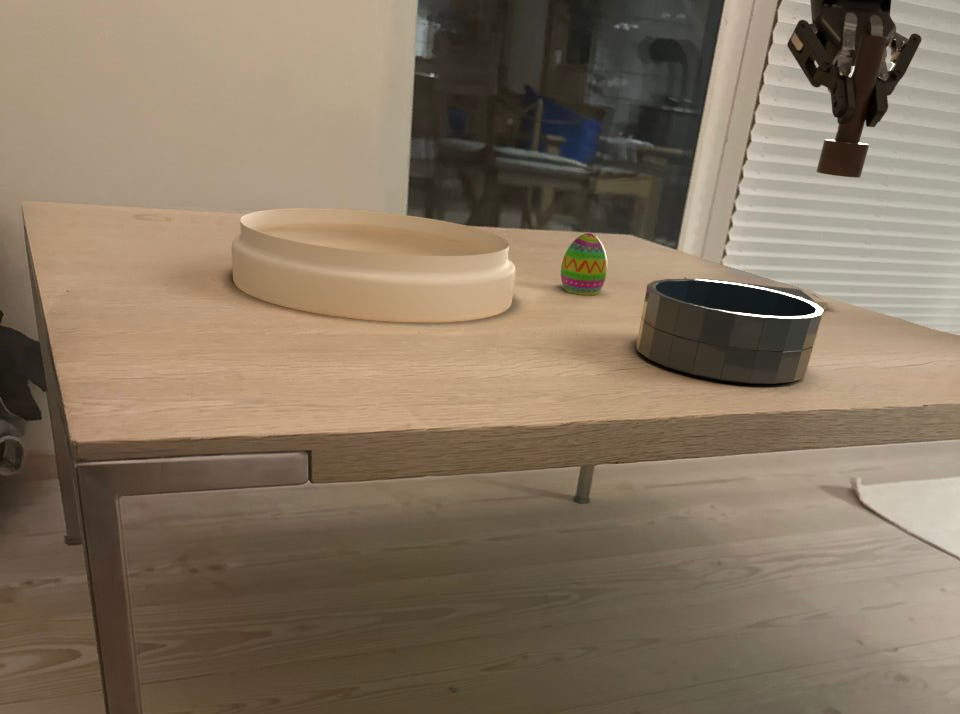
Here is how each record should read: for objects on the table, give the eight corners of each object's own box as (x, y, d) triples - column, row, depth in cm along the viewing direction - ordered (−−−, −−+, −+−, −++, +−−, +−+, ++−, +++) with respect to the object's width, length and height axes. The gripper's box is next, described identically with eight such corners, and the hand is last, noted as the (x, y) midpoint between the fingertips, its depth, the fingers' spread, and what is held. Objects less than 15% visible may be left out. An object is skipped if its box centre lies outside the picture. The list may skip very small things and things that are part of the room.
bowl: (752, 345, 86) (767, 283, 83) (837, 391, 74) (858, 321, 72) (611, 339, 82) (622, 274, 80) (678, 387, 71) (693, 313, 68)
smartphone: (682, 283, 111) (684, 275, 110) (810, 298, 111) (812, 289, 110) (691, 295, 104) (693, 286, 104) (826, 310, 105) (829, 302, 104)
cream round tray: (554, 296, 96) (562, 241, 94) (424, 341, 75) (428, 270, 72) (340, 253, 106) (341, 201, 103) (170, 282, 85) (166, 217, 82)
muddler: (844, 174, 97) (880, 39, 91) (868, 178, 94) (908, 38, 88) (808, 170, 96) (842, 34, 90) (831, 175, 93) (868, 33, 86)
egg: (612, 295, 100) (621, 236, 97) (585, 299, 97) (594, 238, 94) (576, 286, 103) (584, 228, 100) (549, 290, 99) (556, 230, 96)
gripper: (799, -66, 90) (811, 80, 86) (933, -49, 92) (950, 96, 88) (767, 2, 98) (777, 140, 94) (892, 17, 99) (906, 154, 95)
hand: (861, 118), depth 91 cm, fingers closed on muddler, 2 cm apart
